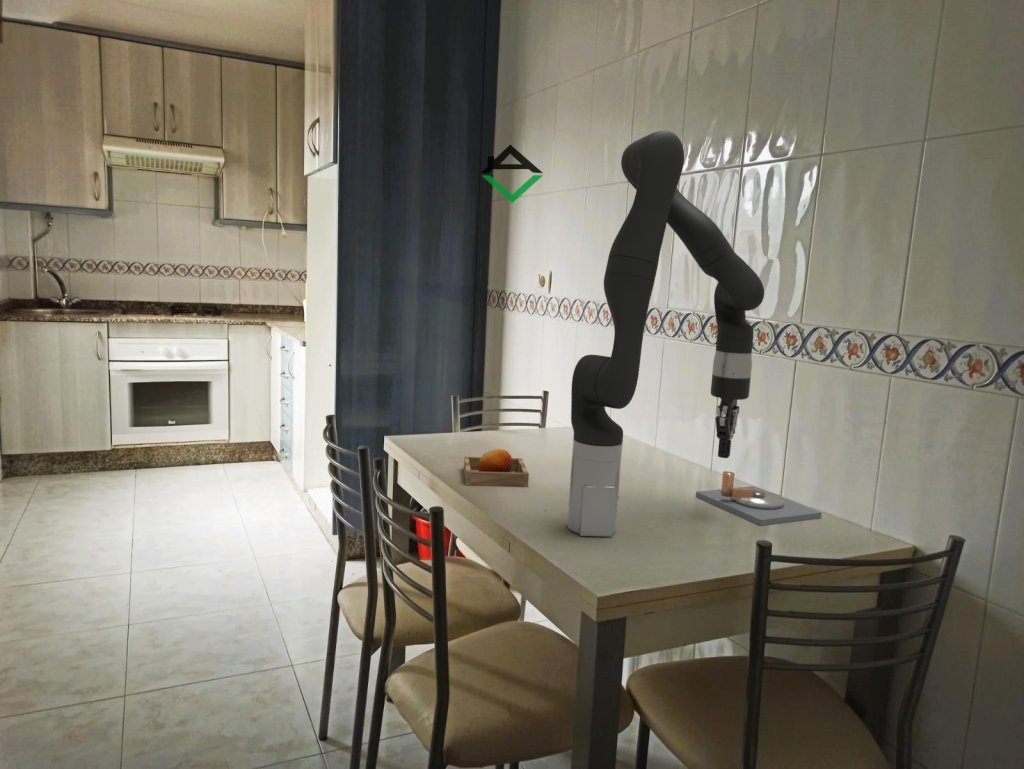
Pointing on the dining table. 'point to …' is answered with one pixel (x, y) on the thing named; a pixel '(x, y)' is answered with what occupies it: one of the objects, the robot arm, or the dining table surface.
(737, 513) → the plate
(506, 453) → the fruit
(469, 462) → the wooden tray
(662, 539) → the dining table surface
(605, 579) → the dining table surface
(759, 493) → the silver and copper crank
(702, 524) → the dining table surface
